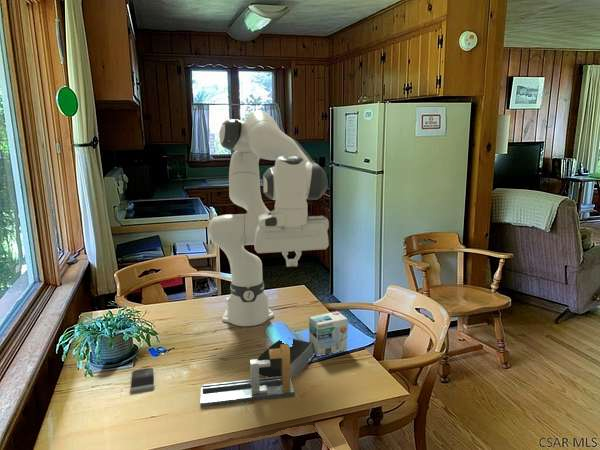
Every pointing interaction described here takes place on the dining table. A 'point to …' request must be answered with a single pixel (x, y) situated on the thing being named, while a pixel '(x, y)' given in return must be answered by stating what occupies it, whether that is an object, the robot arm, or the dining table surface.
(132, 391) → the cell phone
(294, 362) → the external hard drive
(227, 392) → the sliding rail fixture
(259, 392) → the retention clip
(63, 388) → the dining table surface
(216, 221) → the robot arm
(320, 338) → the light bulb box
